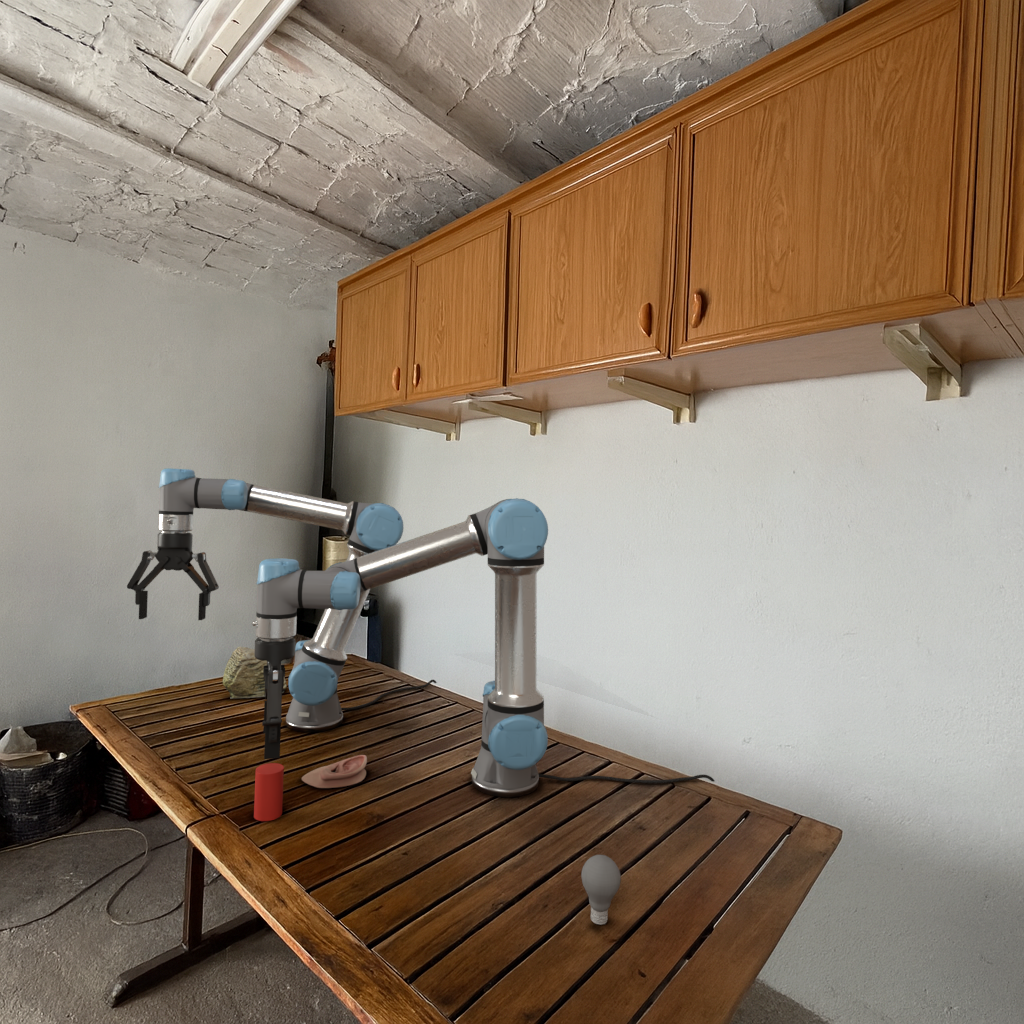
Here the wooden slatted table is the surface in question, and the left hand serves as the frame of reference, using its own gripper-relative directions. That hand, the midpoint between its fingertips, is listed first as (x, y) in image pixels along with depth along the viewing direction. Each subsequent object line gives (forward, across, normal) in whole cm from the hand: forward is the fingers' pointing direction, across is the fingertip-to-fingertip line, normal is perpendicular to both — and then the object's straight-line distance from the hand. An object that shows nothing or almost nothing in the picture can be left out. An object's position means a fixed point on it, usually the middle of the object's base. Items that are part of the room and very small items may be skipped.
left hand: (172, 618), depth 155 cm
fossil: (+32, +9, +42) cm, 53 cm away
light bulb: (+32, +89, -70) cm, 118 cm away
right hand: (+18, +32, -34) cm, 50 cm away
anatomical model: (+32, +42, -18) cm, 56 cm away
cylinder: (+32, +32, -34) cm, 56 cm away
